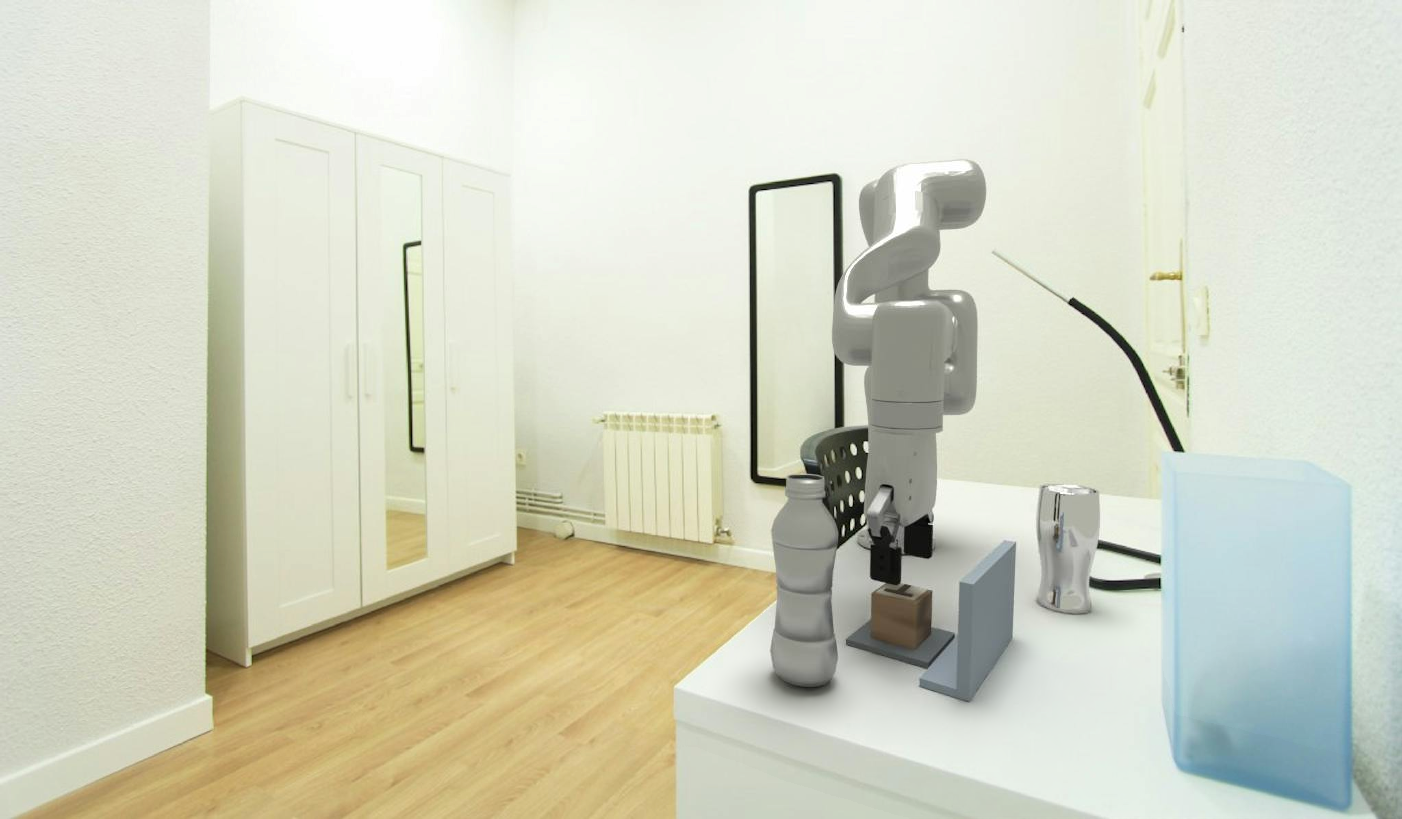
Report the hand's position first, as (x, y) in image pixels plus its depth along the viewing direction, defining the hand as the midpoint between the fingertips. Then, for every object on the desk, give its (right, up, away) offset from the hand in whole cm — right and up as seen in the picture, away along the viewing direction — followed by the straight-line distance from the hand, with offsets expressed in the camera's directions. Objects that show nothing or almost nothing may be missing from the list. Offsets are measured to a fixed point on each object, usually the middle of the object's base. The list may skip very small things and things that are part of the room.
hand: (902, 568), depth 71 cm
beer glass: (+24, -7, +10) cm, 27 cm away
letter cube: (0, -7, 0) cm, 7 cm away
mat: (0, -8, 0) cm, 8 cm away
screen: (+6, -8, -5) cm, 11 cm away
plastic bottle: (-12, -9, -8) cm, 17 cm away
